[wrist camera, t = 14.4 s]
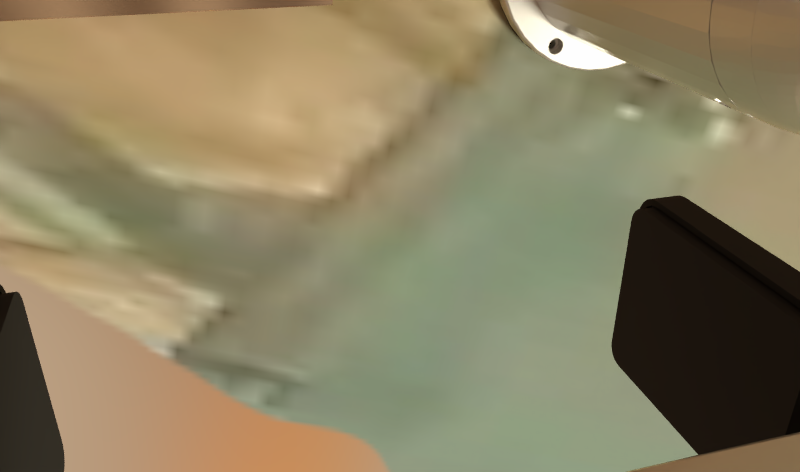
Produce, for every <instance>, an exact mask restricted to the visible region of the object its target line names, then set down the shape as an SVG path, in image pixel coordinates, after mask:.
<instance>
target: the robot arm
mask: <svg viewBox="0 0 800 472" xmlns="http://www.w3.org/2000/svg"><path fill="white" fill-rule="evenodd" d="M500 3H501V7H502V9H503V11H504V13H505V15H506V17H507V19H508V21H509V24H510V25H511V27H512V28H513V29H514V31H515V32H516V33H517V35H518V36H519V37H520V39H521V40H522V41H523V42H524V43H525V44H526V45H527V46H529V47H530V48H531V49H532V50H533V51H535V52H536V53H537V54H539V55H540V56H542V57H544V58H546V59H548V60H549V61H551V62H554V63H556V64H559V65H562V66H564V67H567V68H571V69H579V70H586V71H589V70H602V69H608V68H612V67H615V66H619V65H622V64H625V63H629V64H631V65H634V66H636V67H638V68H641V69H643V70H645V71H647V72H650V73H652V74H654V75H656V76H659V77H661V78H663V79H666V80H668V81H670V82H672V83H675V84H677V85H679V86H682V87H684V88H686V89H688V90H691V91H693V92H695V93H697V94H700V95H702V96H704V97H707V98H709V99H711V100H713V101H716V102H718V103H720V104H723V105H725V106H727V107H729V108H732V109H734V110H737V111H739V112H741V113H743V114H746V115H748V116H750V117H753V118H756V119H758V120H760V121H763V122H765V123H767V124H770V125H772V126H774V127H777V128H779V129H782V130H786V131H789V132H792V133H795V134H798V135H800V0H500ZM551 41H552V44H551V45H550V47H548V46H549V43H550V42H551ZM612 353H613V356H614V359H615V361H616V363H617V364H618V365H619V367H620V368H621V369H622V370H623V371H624V372H625V373H626V374H627V376H628V377H629V378H630V379H631V380H632V381H633V382H634V383H635V384H636V386H637V387H638V388H639V389H640V390H641V391H642V392H643V393H644V394H645V396H646V397H647V398H648V399H649V400H650V401H651V402H652V403H653V405H654V406H655V407H656V408H657V409H658V410H659V411H660V412H661V413H662V415H663V416H664V417H665V418H666V419H667V420H668V421H669V422H670V423H671V425H672V426H673V427H674V428H675V429H676V430H677V431H678V432H679V433H680V435H681V436H682V437H683V438H684V439H685V440H686V441H687V442H688V444H689V445H690V446H691V447H692V448H693V449H694V450H695V451H696V452H697V454H698V455H696V456H692V457H688V458H683V459H679V460H675V461H670V462H666V463H661V464H657V465H653V466H648V467H644V468H640V469H635V470H631V471H627V472H800V272H799V271H798V270H796V269H795V268H793V267H791V266H790V265H788V264H787V263H785V262H784V261H782V260H781V259H779V258H778V257H776V256H775V255H773V254H771V253H770V252H768V251H767V250H765V249H764V248H762V247H761V246H759V245H758V244H756V243H754V242H753V241H751V240H750V239H748V238H747V237H745V236H744V235H742V234H741V233H739V232H738V231H736V230H734V229H733V228H731V227H730V226H728V225H727V224H725V223H724V222H722V221H721V220H719V219H717V218H716V217H714V216H713V215H711V214H710V213H708V212H707V211H705V210H704V209H702V208H700V207H699V206H697V205H696V204H694V203H693V202H691V201H690V200H688V199H687V198H685V197H683V196H672V197H664V198H656V199H648V200H646V201H645V202H643V204H642V206H641V207H640V209H638V210H637V211H635V213H634V214H633V217H632V221H631V227H630V233H629V239H628V246H627V252H626V258H625V264H624V270H623V276H622V283H621V289H620V295H619V301H618V307H617V313H616V320H615V326H614V332H613V338H612ZM0 472H64V450H63V444H62V440H61V436H60V433H59V429H58V425H57V422H56V418H55V415H54V411H53V408H52V405H51V400H50V397H49V393H48V390H47V386H46V382H45V379H44V375H43V372H42V368H41V364H40V361H39V358H38V354H37V350H36V347H35V343H34V339H33V336H32V332H31V329H30V325H29V322H28V318H27V314H26V311H25V307H24V303H23V300H22V298H21V296H20V294H19V293H18V292H12V293H6V292H5V290H4V289H3V287H2V286H1V285H0Z"/></svg>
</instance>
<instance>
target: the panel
mask: <svg viewBox="0 0 800 472" xmlns="http://www.w3.org/2000/svg"><path fill="white" fill-rule="evenodd" d="M320 5H333V1H332V0H0V21H13V20H33V19H54V18H74V17H95V16H115V15H135V14H156V13H176V12H197V11H217V10H238V9H258V8H279V7H299V6H320Z"/></svg>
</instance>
